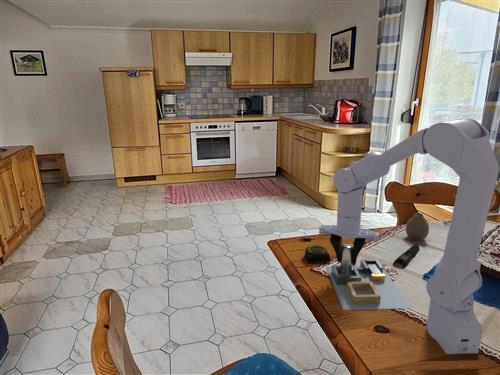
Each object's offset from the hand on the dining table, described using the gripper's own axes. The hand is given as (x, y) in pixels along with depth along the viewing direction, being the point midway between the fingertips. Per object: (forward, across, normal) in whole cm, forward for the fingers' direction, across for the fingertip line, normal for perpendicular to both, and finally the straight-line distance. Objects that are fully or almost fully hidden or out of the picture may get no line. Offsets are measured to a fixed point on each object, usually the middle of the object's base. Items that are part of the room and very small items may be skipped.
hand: (346, 262), depth 86 cm
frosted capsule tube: (+2, 0, 0) cm, 2 cm away
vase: (+6, +17, +34) cm, 39 cm away
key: (+5, +7, +5) cm, 9 cm away
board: (+6, +5, -2) cm, 8 cm away
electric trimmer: (+6, +14, +18) cm, 24 cm away
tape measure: (+6, -10, +8) cm, 14 cm away
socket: (+5, +3, +3) cm, 6 cm away
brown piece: (+5, +5, -6) cm, 9 cm away
